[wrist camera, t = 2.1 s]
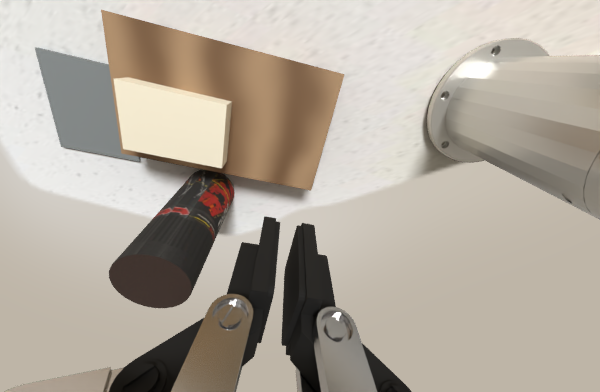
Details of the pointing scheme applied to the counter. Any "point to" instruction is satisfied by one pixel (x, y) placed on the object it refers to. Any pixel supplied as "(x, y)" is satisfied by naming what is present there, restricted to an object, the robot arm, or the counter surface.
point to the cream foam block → (173, 122)
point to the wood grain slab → (234, 96)
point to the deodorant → (174, 243)
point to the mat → (81, 103)
